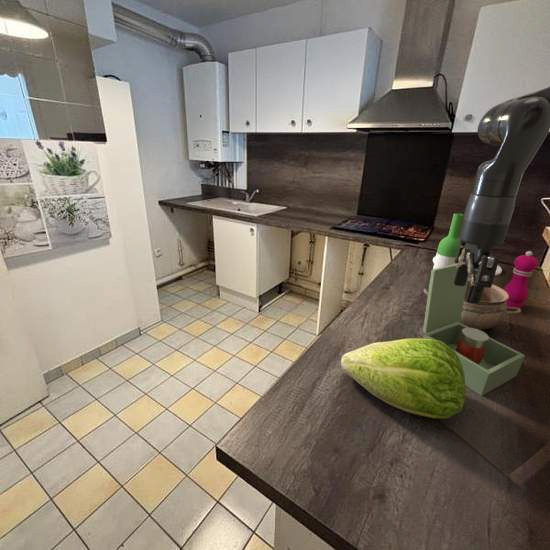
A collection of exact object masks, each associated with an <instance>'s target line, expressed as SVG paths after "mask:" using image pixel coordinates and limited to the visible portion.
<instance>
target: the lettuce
mask: <svg viewBox="0 0 550 550" xmlns="http://www.w3.org/2000/svg"><path fill="white" fill-rule="evenodd" d="M340 365H341V370H342V372H344V373H345V374H347V375H348V376H349V377H350V378H352V379H353V380H354V381H355V382H356V383H358V385H360V386H361V387H362V388H364V389H365V390H366V391H367V392H369V393H370V394H371V395H372V396H373V397H375V398H378V399H379V400H380V401H382V402H384V403H386V404H387V405H390V406H391V407H393V408H396V409H398V410H402V411H403V412H406V413H408V414H413V415H417V416H422V417H426V418H432V419H446V420H447V419H450V418H452V417H453V416H455V415H457V414H459V413H461V412H462V411H463V407H464V406H465V403H466V391H467V389H466V388H467V386H466V385H465V376H464V370H463V367H462V364H461V361H460V359H459V358H458V356H457V354H456V353H455V352H454V351H453V350H452V349H451V348H450V347H448V346H447V345H446V344H445V343H444V342H442V341H440V340H435V339H429V338H423V337H422V338H420V337H418V338H413V337H412V338H403V339H402V338H401V339H396V340H395V339H394V340H389V341H378V342H375V341H374V342H372V343H369V344H367V345H363V346H361V347H359V348H356V349H354V350H351V351H348V352H346V353H344V354H343V355H341V360H340Z"/></svg>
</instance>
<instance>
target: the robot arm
mask: <svg viewBox="0 0 550 550" xmlns="http://www.w3.org/2000/svg"><path fill="white" fill-rule="evenodd" d="M549 132H550V86H548V87H546V88H543V89H540V90H537V91H533V92H530V93H527V94H524V95H520V96H516V97H514V98H511V99H508V100H505V101H502V102H500V103H498V104H496V105H494V106H493V107H491V108H490V109H488V111H486V112H485V114H484V115H483V116H482V117H481V119H480V121H479V123H478V126H477V136H478V138H479V140H480V141H481V142H482V143H484V144H485V145H487V146H491V147H500V148H499V149H498V150H497V152H496V154H495V156H494V158H492V159H491V160H487V161H484V162H482V163H481V164H480V165H479V166H478V167H477V170H476V172H475V176H474V178H473V179H474V180H473V184H472V188H471V193H470V194H469V198H468V201H467V203H466V206H465V209H464V214H463V219H462V223H461V227H460V231H459V235H458V237H459V239H460V243H459V247H458V250H457V254H456V257H455V261H454V262H455V263H456V264H457V265H456V268H457V272H456V276H455V280H454V284H455V285H456V286H465V285H466V281H467V277H468V278H469V277H470V278H471V285H470V287H469V290H468V294H467V297H466V300H467V302H469V303H479V302H480V299H481V295H482V292H483V289H484V287H486V288H491V287H492V284H493V283H494V279H495V277H496V276H495V273H496V269H497V266H499V261H500V258H499V257H497V256H492V249H493V248H495V247H500V246H502V245H504V243H505V240H506V235H507V233H508V229H509V226H510V223H511V220H512V216H513V214H514V210H515V205H516V199H517V195H518V192H519V188H520V185H521V182H522V179H523V175H524V173H525V171H526V170H527V168H528V166H529V165H530V164H531V162H532V160H533V159H534V157H535V156H536V154H537V152H538V151H539V149H540V147H541V146H542V145H543V143H544V142H545V139H546V138H547V135H548V134H549ZM468 274H469V276H468ZM476 275H477V276H476ZM487 276H488V277H487Z"/></svg>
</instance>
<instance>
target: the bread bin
mask: <svg viewBox="0 0 550 550" xmlns="http://www.w3.org/2000/svg"><path fill="white" fill-rule="evenodd" d="M464 328H470V327H468V326H466V325H464V324H462V323H460V322H457V323H454V324H450V325H448V326H445V327H442V328H440V329H437V330H434V331H432V332H429V333H426V334H425V333H424V334H423V336H422V338H429V339H435V340H440V341H442V342H444V343H445V344H446V345H447V346H448V347H450V348H451V349H452V350H453V351H454V352H455V353H456V354H457V356H458V358H459V359H460V361H461V364H462V367H463V370H464V376H465V386H466V388H468V389H470V390H472V391H473V392H474V393H476V394H478V395H479V396H484V395H486V394H487V393H489V392H491V391H492V390H494V389H496V388H498V387H500V386H501V385H503V384H505V383H507V382H508V381H511V380H513V379H514V378H516V377H517V376H518V374H519V371H520V369H521V366H522V364H523V362H524V360H525V357H526V355H525V354H524V353H522V352H520V351H517V350H515V349H514V348H512V347H510V346H508V345H505V344H504V343H501V342H500V341H497V340H495V339H493V338H491V337H490V336H489V340H488V342H487V346H486V349H485V352H484V355H483V358H482V361H481V363H480V365H478V364H476V363H475V362H473V361H471V360H469V359H468V358H466V357H464V356H463V355H461V354H459V353H458V352H456V348H457V345H458V341H459V338H460V335H461V332H462V329H464Z"/></svg>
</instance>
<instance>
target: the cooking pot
mask: <svg viewBox="0 0 550 550" xmlns="http://www.w3.org/2000/svg"><path fill="white" fill-rule="evenodd" d="M470 285H471V277H468V282H467V287H466V293H465V298H464V304H463V309H462V314H461V320H460V321H459V322H460V323H462V324H464V325H466V326H468V327H470V328H475V329H478V330H488V329H491V328H495V327H496V326H498V325H500V324H501V323H502V322H504V319H505V318H506V316H514V315H518V314H521V312H522V308H521V309H520V308H516V307H508V306H506V300H507V299H508V298H509V295H508V293H507V292H506V291H504V290H503V288H501V287H499V286H497V285H495V284H493V283H492V287H491V288H486V287H484V289H483V292H482V295H481V299H480V302H479V303H469V302H467V300H466V297H467V294H468V290H469V287H470ZM428 292H429V288H424V289H423V293H424V294H425V295H426V296H428ZM456 323H457V322H456ZM453 324H454V323H453Z"/></svg>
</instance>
